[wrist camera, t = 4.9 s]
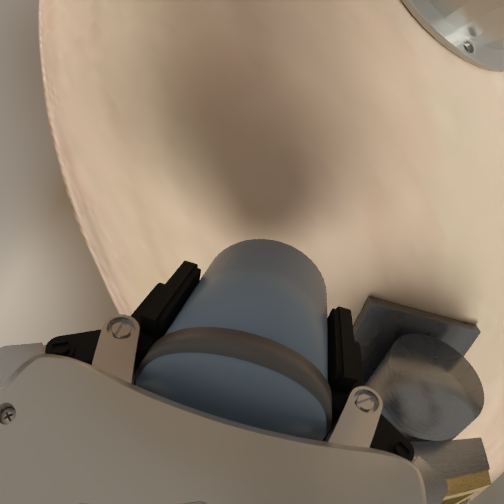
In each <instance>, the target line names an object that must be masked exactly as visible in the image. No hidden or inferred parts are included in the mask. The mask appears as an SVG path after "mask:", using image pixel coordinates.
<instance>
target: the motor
mask: <svg viewBox="0 0 504 504" xmlns="http://www.w3.org/2000/svg"><path fill="white" fill-rule="evenodd" d="M353 332H354V340H355V341H357V342H359V344H360V349H361V358H362V366H363V376H364V386H366V387H369V388H371V389H373V390H375V391H376V392H377V393H378V394H379V395H380V397H381V399H382V403H383V406H382V411H381V414H382V415H383V416H384V417H385V418H386V419H387V420H388V421H389V422H390V423H391V424H392V425H393V426H394V427H395V428H396V429H397V430H398V431H399V432H401V433H402V434H403V435H404V436H405V437H406V438H407V439H408V440H409V441H410V443H411V444H412V445H413V448H414V453H415V454H414V456H415V457H418V456H420V457H421V458H422V459H423V460H424V461H425V462H426V463H428V464H429V465H430V466H431V467H432V468H433V469H434V470H436V471H437V472H438V473H439V474H440V475H441V476H442V477H444V478H445V480H446V481H447V484H448V491H447V494H446V496H445V497H444V499H443V501H442V502H441V504H459V503H461V502H463V501H465V500H466V499H468V498H470V497H472V496H473V495H475V494H477V493H478V492H480V491H481V490H483V489H485V488H486V487H488V486H489V485H491V481H490V476H489V472H488V470H489V469H490V468H489V464H488V460H487V456H486V453H485V449H484V446H483V442H482V439H481V438H472V439H462V440H452V439H453V438H455V437H456V436H457V435H458V434H459V433H460V432H462V431H463V430H464V429H465V428H466V427H467V426H468V425H469V424H470V423H471V422H472V421H474V420H475V419H476V418H477V417H478V415H479V414H480V413H481V410H482V408H483V404H484V392H483V387H482V384H481V381H480V379H479V377H478V375H477V373H476V372H475V370H474V369H473V367H472V366H471V365H470V363H469V362H468V361H467V360H466V359H465V358H464V357H463V356H464V355H465V354H466V352H467V351H468V349H469V348H470V347H471V345H472V344H473V342H474V341H475V340H476V338H477V337H478V335H479V334H480V330H479V329H478V327H477V326H476V325H473V324H469V323H465V322H462V321H458V320H454V319H451V318H447V317H443V316H439V315H436V314H432V313H428V312H425V311H421V310H417V309H414V308H410V307H406V306H403V305H399V304H396V303H392V302H388V301H385V300H381V299H378V298H374V297H370V296H369V297H368V299H367V301H366V303H365V305H364V307H363V309H362V311H361V313H360V315H359V317H358V319H357V320H356V322H355V324H354V326H353Z"/></svg>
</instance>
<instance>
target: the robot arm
mask: <svg viewBox="0 0 504 504" xmlns="http://www.w3.org/2000/svg"><path fill="white" fill-rule="evenodd" d="M402 2H403V3H404V4H405V6H406V7H407V8H408V10H409V11H410V13H411V14H412V15H413V16H414V17H415V18H416V19H417V21H418V22H419V23H420V24H421V25H422V26H423V28H425V29H426V30H427V31H428V32H429V33H430V34H431V35H432V36H433V37H434V38H435V39H436V40H437V41H438V42H440V43H441V44H442V45H444V46H445V47H446V48H447V49H448V50H450V51H451V52H452V53H454V54H456V55H457V56H459V57H460V58H462V59H463V60H465V61H467V62H469V63H471V64H473V65H475V66H477V67H479V68H483V69H486V70H489V71H499V72H502V71H504V0H402ZM200 273H201V269H199V268H197V264H194V263H191V262H188V261H184V262H183V263H182V265H181V266H180V267H179V268H178V269H177V271H176V272H175V273H174V274H173V275H172V277H171V278H170V279H169V280H168V281H167V283H166V284H162V283H158V284H157V285H156V286H155V288H154V289H153V290H152V291H151V292H150V293H149V295H148V296H147V297H146V298H145V299H144V301H143V302H142V303H141V304H140V305H139V307H138V308H137V309H136V310H135V311H134V313H133V314H132V315H131V316H128V315H120V314H119V315H114V316H111V317H109V318H108V319H107V320H106V321H105V322H104V324H103V327H102V329H101V330H96V331H89V332H83V333H77V334H71V335H64V336H58V337H55V338H53V339H51V340H50V341H49V342H48V343H47V345H43V344H42V343H33V344H22V345H11V346H4V347H1V348H0V504H441V502H442V501H443V499H444V497H445V496H446V494H447V491H448V484H447V481H446V480H445V478H444V477H442V476H441V475H440V474H439V473H438V472H437V471H436V470H434V469H433V468H432V467H431V466H430V465H429V464H428V463H426V462H425V461H424V460H423V459H422V458H421V457H420V456H418V457H415V456H414V454H415V453H414V448H413V445H412V444H411V443H410V441H409V440H408V439H407V438H406V437H405V436H404V435H403V434H402V433H401V432H399V431H398V430H397V429H396V428H395V427H394V426H393V425H392V424H391V423H390V422H389V421H388V420H387V419H386V418H385V417H384V416H383V415H382V414H381V411H382V406H383V403H382V399H381V397H380V395H379V394H378V393H377V392H376V391H375V390H373V389H371V388H369V387H366V386H364V376H363V366H362V358H361V349H360V344H359V342H357V341H355V340H354V332H353V324H352V316H351V310H349V309H346V308H342V307H337V309H332V311H331V313H330V315H329V317H328V319H327V324H328V384H329V386H330V389H331V392H332V423H331V427H330V430H329V432H328V434H327V435H326V436H325V437H324V439H323V441H319V440H313V439H307V438H301V437H296V436H291V435H286V434H282V433H277V432H273V431H269V430H264V429H260V428H256V427H252V426H249V425H245V424H241V423H238V422H234V421H231V420H227V419H224V418H221V417H218V416H214V415H211V414H208V413H205V412H202V411H199V410H196V409H194V408H191V407H188V406H185V405H182V404H180V403H177V402H174V401H172V400H169V399H167V398H164V397H162V396H159V395H157V394H154V393H152V392H150V391H147V390H145V389H143V388H140V387H138V386H136V384H135V375H136V371H137V369H138V367H139V365H140V363H141V362H142V360H143V359H144V357H145V356H146V354H147V352H148V351H149V349H150V348H151V346H152V345H153V344H154V343H155V342H156V341H157V340H158V339H160V338H161V337H163V336H164V335H165V334H166V332H167V330H168V329H169V327H170V326H171V324H172V323H173V321H174V320H175V318H176V316H177V315H178V313H179V312H180V310H181V309H182V307H183V306H184V304H185V303H186V301H187V300H188V298H189V296H190V295H191V293H192V292H193V290H194V289H195V287H196V286H197V284H198V283H199V280H200Z"/></svg>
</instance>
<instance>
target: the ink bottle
mask: <svg viewBox="0 0 504 504" xmlns="http://www.w3.org/2000/svg"><path fill="white" fill-rule="evenodd" d="M459 504H470V498H468V499H466V500H465V501H463V502H461V503H459Z"/></svg>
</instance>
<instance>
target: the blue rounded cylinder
mask: <svg viewBox="0 0 504 504" xmlns="http://www.w3.org/2000/svg"><path fill="white" fill-rule="evenodd" d="M135 384H136V386H138V387H140V388H143V389H145V390H147V391H150V392H152V393H154V394H157V395H159V396H162V397H164V398H167V399H169V400H172V401H174V402H177V403H180V404H182V405H185V406H188V407H191V408H194V409H196V410H199V411H202V412H205V413H208V414H211V415H214V416H218V417H221V418H224V419H227V420H231V421H234V422H238V423H241V424H245V425H249V426H252V427H256V428H260V429H264V430H269V431H273V432H277V433H282V434H286V435H291V436H296V437H301V438H307V439H313V440H319V441H323V439H324V437H325V436H326V435H327V434H328V432H329V430H330V427H331V423H332V392H331V389H330V386H329V384H328V324H327V294H326V286H325V282H324V279H323V277H322V275H321V273H320V271H319V269H318V268H317V266H316V265H315V264H314V263H313V262H312V261H311V259H309V258H308V257H307V256H306V255H305V254H303V253H302V252H301V251H299V250H298V249H296V248H294V247H292V246H290V245H287V244H284V243H282V242H278V241H273V240H266V239H254V240H246V241H243V242H239V243H236V244H234V245H232V246H230V247H228V248H226V249H225V250H223V251H222V252H221V253H220V254H218V256H217V257H216V258H215V259H214V260H213V262H212V263H211V265H210V266H209V268H208V269H207V271H206V272H205V274H204V275H203V277H202V278H201V280H200V281H199V283H198V284H197V286H196V287H195V289H194V290H193V292H192V293H191V295H190V296H189V298H188V300H187V301H186V303H185V304H184V306H183V307H182V309H181V310H180V312H179V313H178V315H177V316H176V318H175V320H174V321H173V323H172V324H171V326H170V327H169V329H168V330H167V332H166V334H165V335H164V336H163V337H161V338H160V339H158V340H157V341H156V342H155V343H154V344H153V345H152V346H151V348H150V349H149V351H148V352H147V354H146V356H145V357H144V359H143V360H142V362H141V363H140V365H139V367H138V369H137V371H136V375H135Z"/></svg>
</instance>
